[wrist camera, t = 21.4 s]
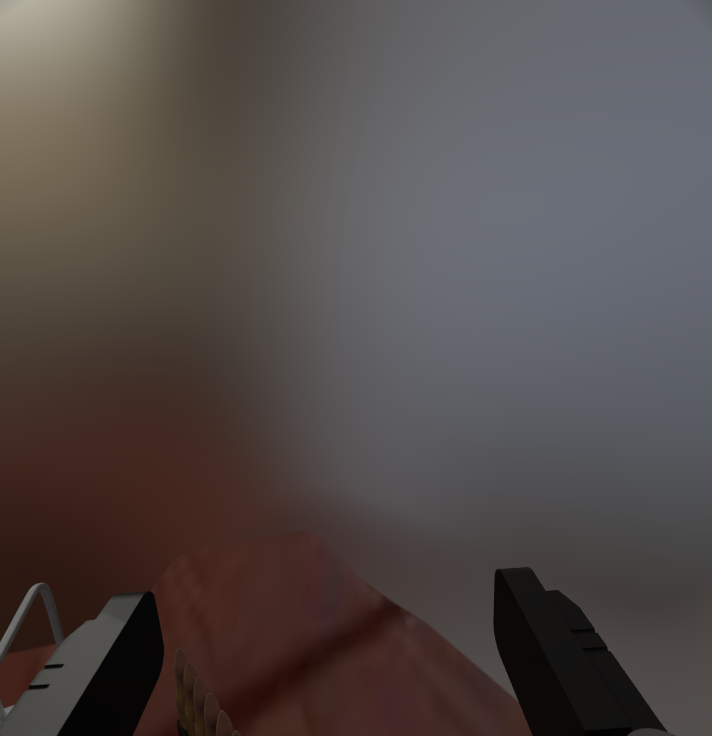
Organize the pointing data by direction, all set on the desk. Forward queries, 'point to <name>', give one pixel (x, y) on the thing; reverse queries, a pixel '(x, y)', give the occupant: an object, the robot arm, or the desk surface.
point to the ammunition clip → (197, 703)
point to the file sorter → (2, 647)
